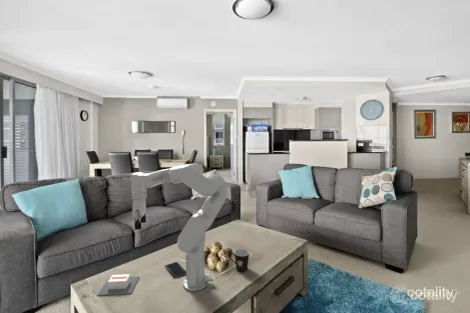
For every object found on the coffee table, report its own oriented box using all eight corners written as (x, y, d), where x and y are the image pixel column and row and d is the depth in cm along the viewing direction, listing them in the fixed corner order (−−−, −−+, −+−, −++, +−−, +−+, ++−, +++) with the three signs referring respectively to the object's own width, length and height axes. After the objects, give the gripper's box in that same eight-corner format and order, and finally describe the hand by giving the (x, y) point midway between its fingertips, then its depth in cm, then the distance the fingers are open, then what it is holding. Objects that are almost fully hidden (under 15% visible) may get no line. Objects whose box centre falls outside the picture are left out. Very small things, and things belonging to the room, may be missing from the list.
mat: (139, 277, 136) (139, 276, 136) (131, 293, 122) (131, 292, 122) (108, 278, 134) (108, 278, 134) (97, 295, 120) (97, 294, 120)
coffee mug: (252, 268, 145) (252, 252, 144) (242, 275, 138) (242, 257, 137) (237, 261, 153) (237, 246, 152) (227, 267, 146) (227, 251, 145)
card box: (112, 282, 131) (112, 274, 130) (130, 281, 131) (130, 274, 131) (108, 289, 125) (107, 281, 124) (126, 288, 125) (126, 280, 125)
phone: (174, 277, 134) (164, 265, 146) (174, 279, 134) (164, 267, 147) (187, 272, 139) (177, 261, 151) (187, 274, 139) (177, 263, 151)
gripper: (136, 191, 142) (137, 220, 144) (126, 199, 125) (128, 232, 127) (150, 191, 143) (151, 220, 145) (142, 199, 126) (143, 231, 128)
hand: (140, 225), depth 136 cm, fingers open, 9 cm apart
